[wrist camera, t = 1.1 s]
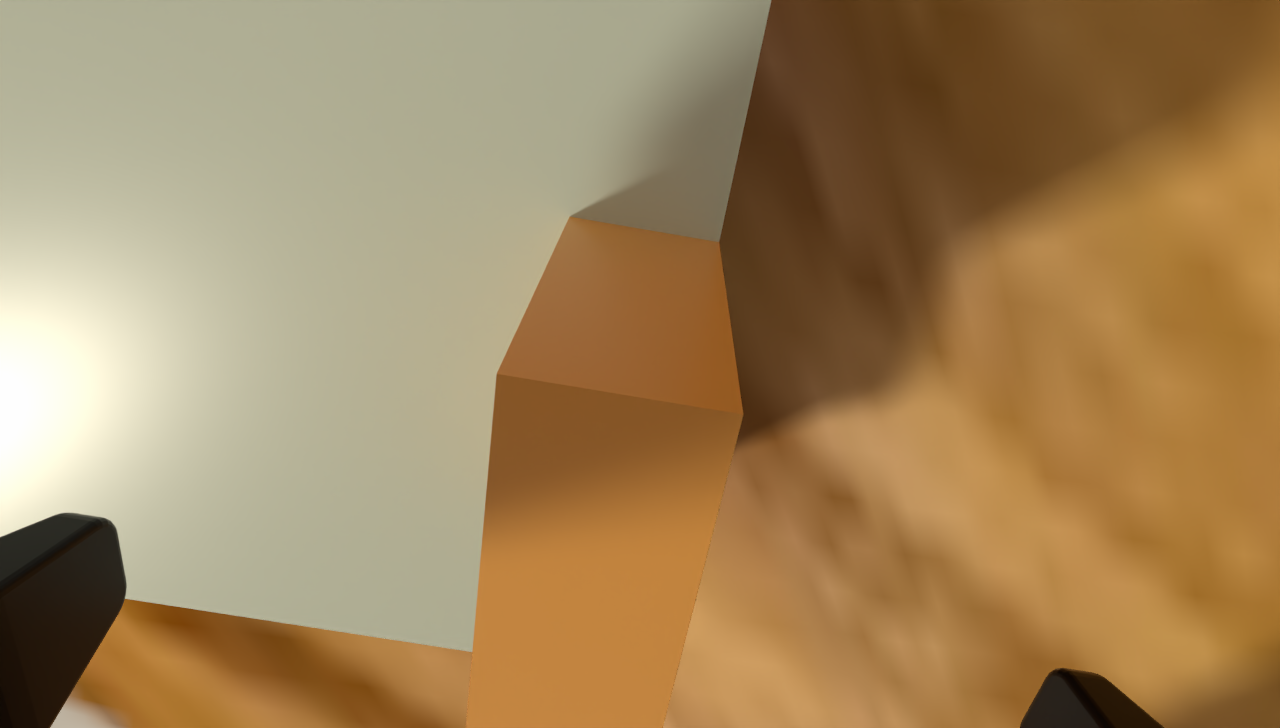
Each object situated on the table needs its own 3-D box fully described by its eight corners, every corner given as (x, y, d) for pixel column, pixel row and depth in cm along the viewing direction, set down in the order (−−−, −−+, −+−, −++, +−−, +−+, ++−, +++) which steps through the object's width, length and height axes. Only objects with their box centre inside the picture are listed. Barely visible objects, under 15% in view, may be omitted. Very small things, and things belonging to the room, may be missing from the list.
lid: (762, -26, 10) (856, -27, 5) (631, 603, 16) (603, 959, 10) (-494, -254, 10) (-2029, -554, 4) (-202, 472, 15) (-729, 769, 9)
